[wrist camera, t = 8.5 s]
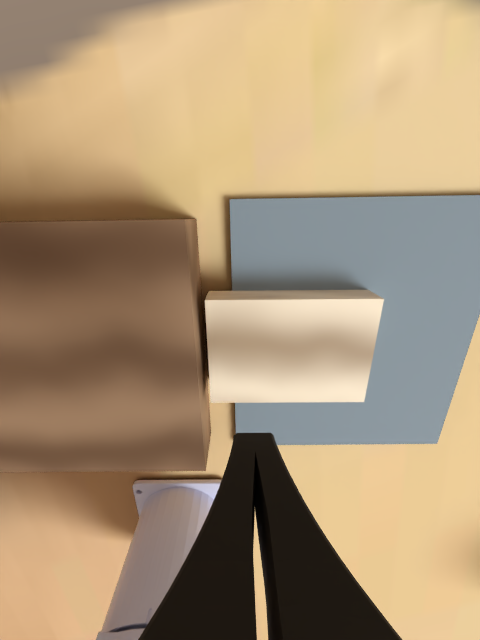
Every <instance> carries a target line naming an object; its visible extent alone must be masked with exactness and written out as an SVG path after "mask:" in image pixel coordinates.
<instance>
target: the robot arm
mask: <svg viewBox="0 0 480 640" xmlns="http://www.w3.org/2000/svg"><path fill="white" fill-rule="evenodd" d="M132 488H133V492H134V497H135V501H136V505H137V510H138V514H139V520H138V523H137V526H136V529H135V532H134V535H133V538H132V541H131V544H130V547H129V550H128V553H127V556H126V559H125V562H124V565H123V568H122V571H121V574H120V577H119V580H118V583H117V586H116V589H115V592H114V595H113V598H112V600H111V603H110V606H109V609H108V612H107V615H106V618H105V621H104V624H103V627H102V630H101V631H100V632H99V633H98V635H97V638H96V640H257V635H256V613H255V590H254V567H253V539H254V512H256V520H257V528H258V536H259V544H260V552H261V560H262V569H263V577H264V585H265V595H266V606H267V623H268V640H402V639H401V637H400V636H399V635H398V634H397V633H396V631H395V630H394V629H393V628H392V626H391V625H390V624H389V623H388V621H387V620H386V619H385V617H384V616H383V615H382V613H381V612H380V611H379V610H378V608H377V607H376V606H375V604H374V603H373V602H372V600H371V599H370V598H369V597H368V595H367V594H366V593H365V591H364V590H363V589H362V587H361V586H360V585H359V583H358V582H357V581H356V580H355V578H354V577H353V575H352V574H351V573H350V571H349V570H348V568H347V567H346V565H345V564H344V563H343V561H342V560H341V558H340V557H339V556H338V554H337V553H336V551H335V550H334V548H333V547H332V545H331V544H330V542H329V541H328V539H327V538H326V536H325V535H324V533H323V531H322V530H321V528H320V527H319V525H318V523H317V522H316V520H315V519H314V517H313V515H312V514H311V512H310V510H309V509H308V507H307V505H306V503H305V502H304V500H303V498H302V496H301V495H300V493H299V491H298V489H297V487H296V485H295V483H294V481H293V479H292V478H291V476H290V474H289V472H288V470H287V467H286V465H285V463H284V461H283V459H282V457H281V454H280V452H279V449H278V447H277V444H276V441H275V439H274V435H273V434H272V433H236V434H235V435H234V439H233V445H232V449H231V453H230V457H229V460H228V463H227V467H226V470H225V472H224V475H223V478H222V480H220V479H211V480H136V481H135V482H134V484H133V487H132Z"/></svg>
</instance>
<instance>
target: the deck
mask: <svg viewBox="0 0 480 640" xmlns="http://www.w3.org/2000/svg"><path fill="white" fill-rule="evenodd" d="M210 436H211V425H210V410H209V396H208V381H207V367H206V352H205V338H204V323H203V309H202V294H201V280H200V265H199V251H198V236H197V222H196V219H156V220H93V221H30V222H0V472H112V471H206V465H207V457H208V450H209V443H210Z"/></svg>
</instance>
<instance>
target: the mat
mask: <svg viewBox="0 0 480 640" xmlns="http://www.w3.org/2000/svg"><path fill="white" fill-rule="evenodd" d="M230 232H231V270H232V291H264V290H370V291H371V292H373V293H375V294H377V295H378V296H380V297H382V298H383V299H384V302H383V307H382V312H381V318H380V323H379V328H378V333H377V338H376V343H375V349H374V354H373V359H372V364H371V369H370V374H369V380H368V385H367V390H366V395H365V400H364V402H279V403H235V422H236V433H272V434H273V435H274V439H275V441H276V444H277V445H333V444H437V442H438V439H439V436H440V433H441V430H442V427H443V424H444V421H445V418H446V415H447V412H448V409H449V406H450V403H451V400H452V397H453V394H454V390H455V387H456V384H457V381H458V378H459V375H460V372H461V369H462V366H463V363H464V360H465V357H466V354H467V351H468V348H469V345H470V342H471V339H472V336H473V333H474V330H475V327H476V324H477V320H478V317H479V314H480V195H454V196H394V197H333V198H272V199H230Z"/></svg>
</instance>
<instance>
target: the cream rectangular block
mask: <svg viewBox="0 0 480 640" xmlns="http://www.w3.org/2000/svg"><path fill="white" fill-rule="evenodd" d="M383 302H384V299H383V298H382V297H380V296H378V295H377V294H375V293H373V292H371V291H370V290H264V291H209V292H208V294H207V296H206V299H205V312H206V329H207V346H208V363H209V380H210V397H211V403H279V402H364V400H365V395H366V390H367V385H368V380H369V374H370V369H371V364H372V359H373V354H374V349H375V343H376V338H377V333H378V328H379V323H380V318H381V312H382V307H383Z"/></svg>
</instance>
